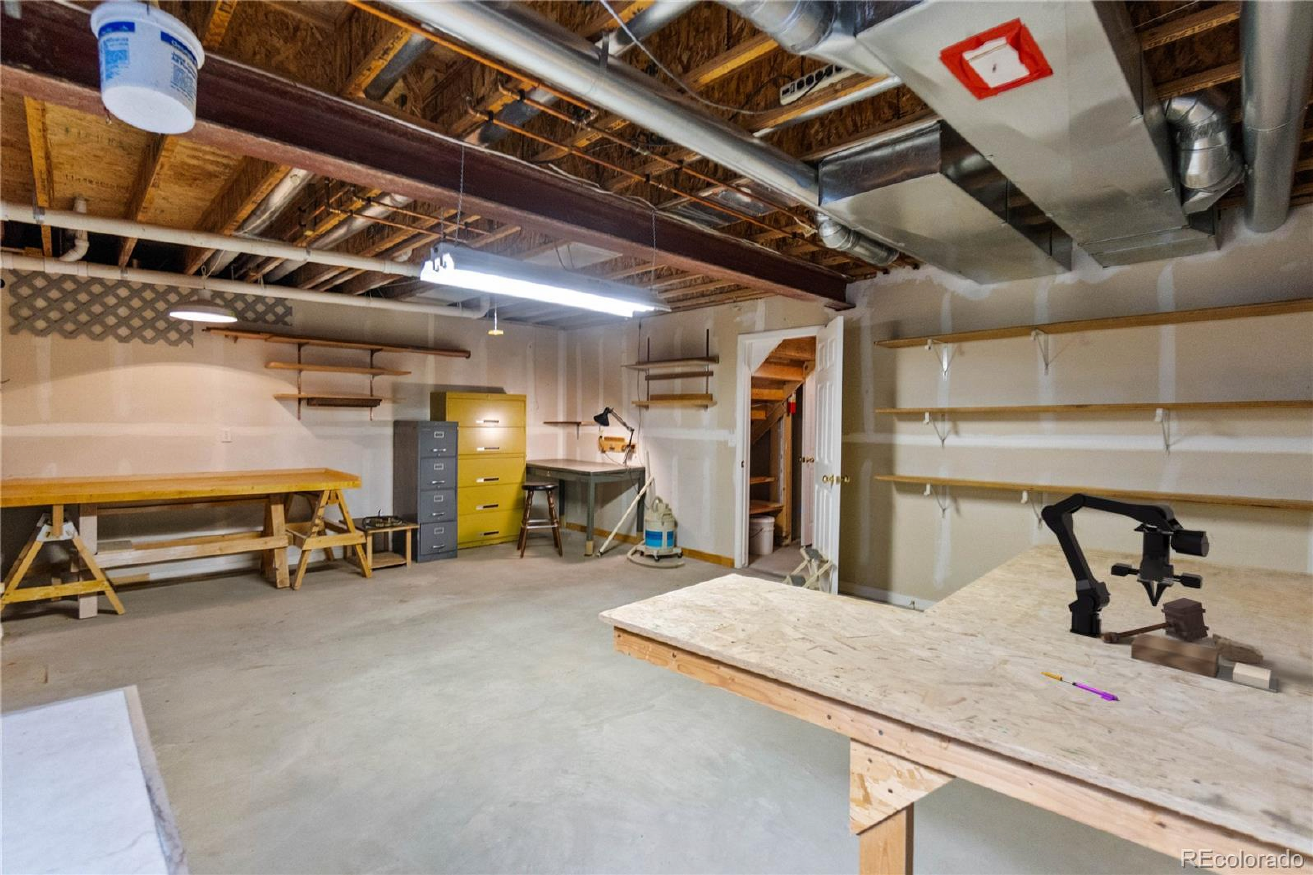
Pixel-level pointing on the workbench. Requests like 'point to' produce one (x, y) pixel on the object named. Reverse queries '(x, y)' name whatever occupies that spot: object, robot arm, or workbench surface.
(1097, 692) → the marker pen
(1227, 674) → the mat
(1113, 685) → the workbench surface
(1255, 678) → the cream rectangular block
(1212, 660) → the plate
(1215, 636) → the stone
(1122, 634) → the hammer
